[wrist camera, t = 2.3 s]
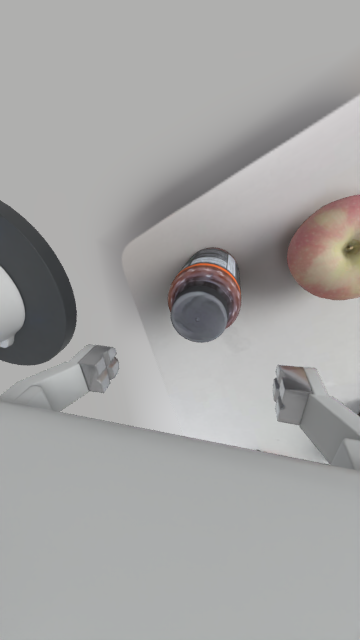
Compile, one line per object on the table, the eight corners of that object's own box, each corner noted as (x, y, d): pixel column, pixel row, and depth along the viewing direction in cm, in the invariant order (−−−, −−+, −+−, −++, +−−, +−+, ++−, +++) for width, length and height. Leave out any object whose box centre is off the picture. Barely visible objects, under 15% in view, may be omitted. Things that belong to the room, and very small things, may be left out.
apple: (365, 175, 18) (447, 159, 11) (382, 258, 20) (457, 288, 13) (268, 225, 21) (284, 237, 14) (293, 292, 24) (317, 330, 17)
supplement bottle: (227, 304, 26) (222, 366, 16) (180, 288, 26) (148, 339, 17) (248, 256, 23) (258, 297, 13) (195, 238, 23) (166, 265, 13)
